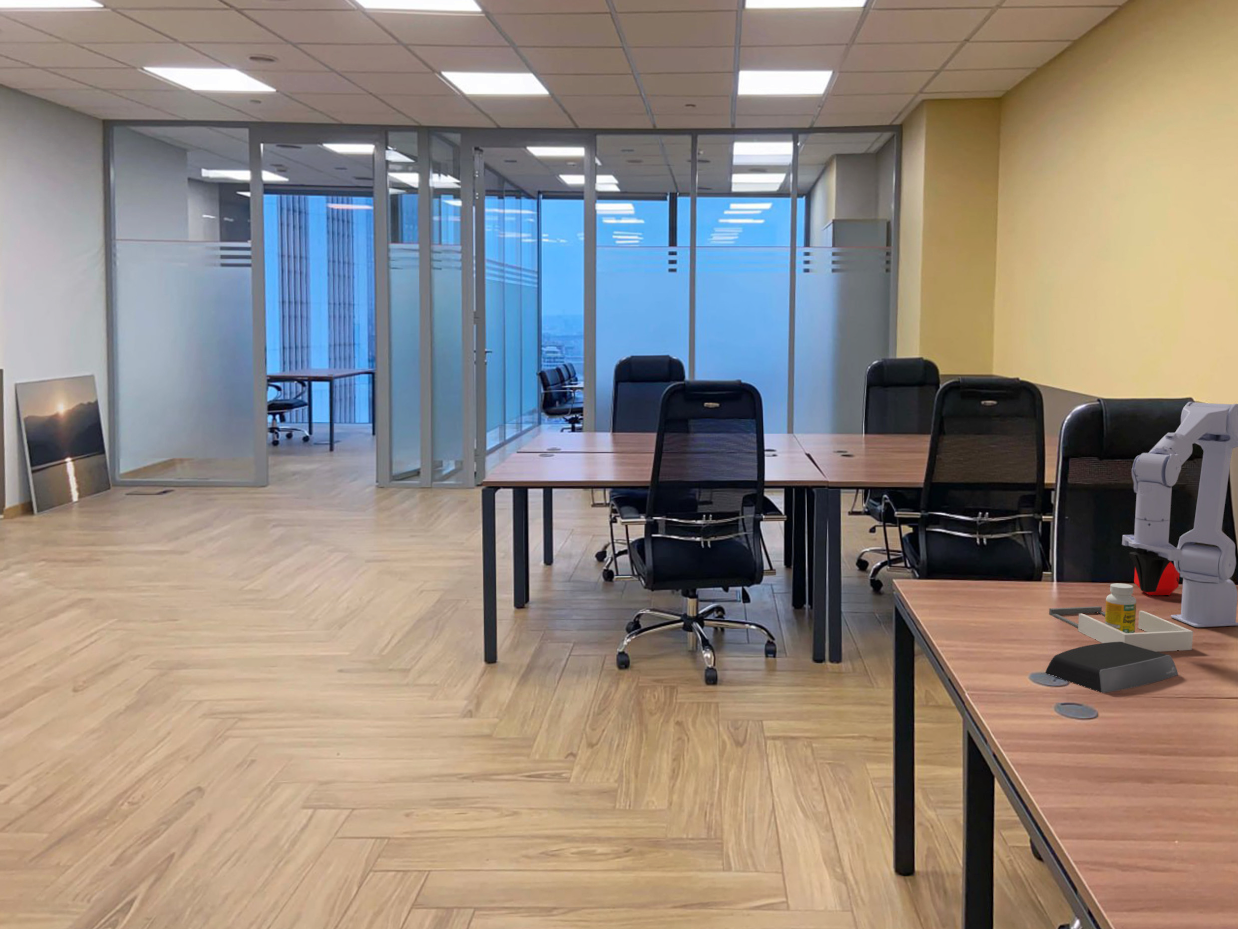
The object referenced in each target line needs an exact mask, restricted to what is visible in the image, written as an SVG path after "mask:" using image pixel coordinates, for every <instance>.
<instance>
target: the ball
mask: <svg viewBox="0 0 1238 929" xmlns="http://www.w3.org/2000/svg"><path fill="white" fill-rule="evenodd" d="M1179 582H1180V573H1179V572H1178V571H1177V570H1176V568H1175V566H1174V563H1172V561H1170V562H1169V564H1168V565H1167V566H1166V568H1165V570H1164V571H1163V573H1162V576H1161V578H1160V581H1159V583H1158V586H1157V589H1156V592H1144V591H1142V592H1143V593H1145V594H1147V595H1149V596H1151V595H1169V596H1170V595H1171V594H1172V593H1173V592H1175V591H1176V590H1177V589H1178V588H1179ZM1133 583H1134V584H1135V585H1136V586H1137V587H1138V588H1139V589H1140V584H1139V579H1138V575H1137V571H1136V568H1135V567H1134V578H1133Z"/></svg>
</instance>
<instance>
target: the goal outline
mask: <svg viewBox="0 0 1238 929" xmlns="http://www.w3.org/2000/svg"><path fill="white" fill-rule="evenodd" d="M1102 608H1103V607H1102V606H1098V605H1097V606H1094V605H1093V606H1075V607H1053V608H1048V609H1049V610H1048V611H1049V612H1048V614H1049V615H1050V616H1052V617H1054V618H1056V619H1059V620H1060V621H1063V622H1065V623H1066V624H1068V625H1071V626H1073V627H1075V628H1077V629H1078V623H1076V622H1075V621H1072V620H1070V619H1068V618H1067V617H1064V616H1065V615H1079V614H1082V613H1088V614H1096V613H1095V612H1098V613H1097V614H1099V613H1100V615H1101V614H1102V616H1103V615H1104V616H1103V617H1105V611H1103V610H1102ZM1062 615H1063V616H1062Z"/></svg>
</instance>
